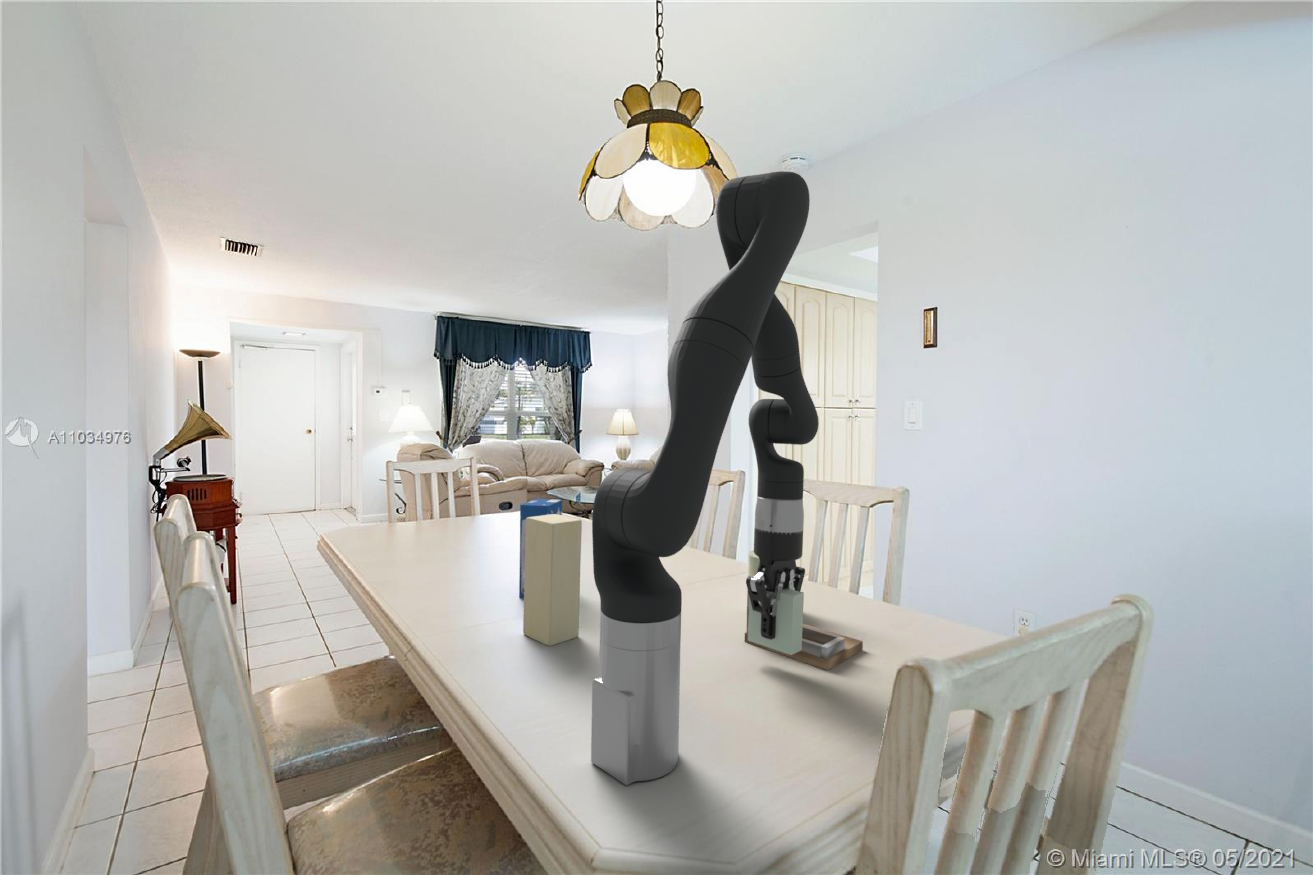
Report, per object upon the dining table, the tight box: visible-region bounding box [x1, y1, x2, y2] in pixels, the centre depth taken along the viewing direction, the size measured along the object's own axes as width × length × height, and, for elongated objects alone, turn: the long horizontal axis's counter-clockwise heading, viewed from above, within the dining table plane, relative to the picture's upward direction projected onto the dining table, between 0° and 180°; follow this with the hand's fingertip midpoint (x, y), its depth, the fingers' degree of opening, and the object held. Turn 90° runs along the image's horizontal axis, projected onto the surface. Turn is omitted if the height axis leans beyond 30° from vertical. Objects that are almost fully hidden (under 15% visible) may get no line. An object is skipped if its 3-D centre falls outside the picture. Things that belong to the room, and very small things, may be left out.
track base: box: [744, 573, 864, 671], centre depth 103 cm, size 12×16×12 cm
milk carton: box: [518, 498, 563, 599], centre depth 131 cm, size 10×6×20 cm, turn 172°
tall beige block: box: [522, 514, 583, 647], centre depth 105 cm, size 8×7×21 cm
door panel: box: [748, 588, 805, 655], centre depth 93 cm, size 3×8×9 cm, turn 46°
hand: (774, 634), depth 93 cm, fingers closed on door panel, 3 cm apart
